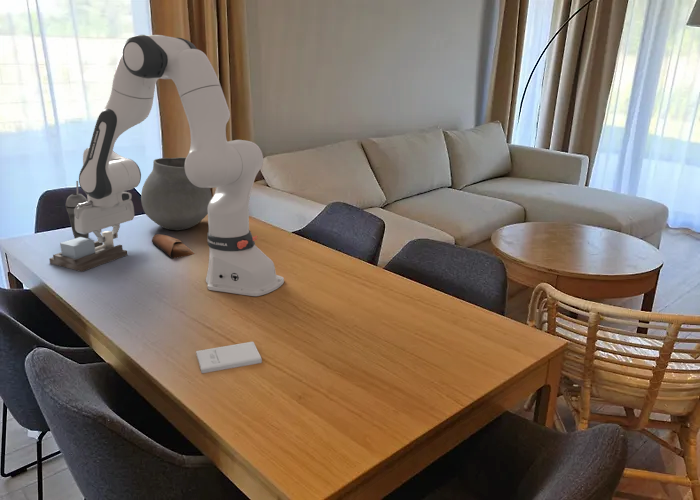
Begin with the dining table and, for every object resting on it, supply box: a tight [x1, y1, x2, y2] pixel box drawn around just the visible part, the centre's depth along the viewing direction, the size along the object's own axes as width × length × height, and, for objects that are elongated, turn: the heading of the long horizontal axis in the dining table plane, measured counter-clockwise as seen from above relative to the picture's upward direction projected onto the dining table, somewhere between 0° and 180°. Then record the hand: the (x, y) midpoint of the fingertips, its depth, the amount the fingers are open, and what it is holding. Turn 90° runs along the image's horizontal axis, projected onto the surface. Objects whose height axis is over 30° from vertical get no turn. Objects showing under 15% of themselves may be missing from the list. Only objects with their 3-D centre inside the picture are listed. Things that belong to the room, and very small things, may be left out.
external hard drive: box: [195, 341, 263, 374], centre depth 120 cm, size 2×8×12 cm
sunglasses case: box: [151, 233, 195, 259], centre depth 185 cm, size 18×7×7 cm
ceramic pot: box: [140, 157, 213, 231], centre depth 205 cm, size 24×24×25 cm
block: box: [59, 230, 115, 259], centre depth 175 cm, size 6×16×5 cm, turn 153°
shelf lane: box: [48, 240, 128, 273], centre depth 175 cm, size 14×17×3 cm
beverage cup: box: [65, 180, 90, 239], centre depth 191 cm, size 7×7×20 cm
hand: (108, 240), depth 180 cm, fingers open, 3 cm apart
